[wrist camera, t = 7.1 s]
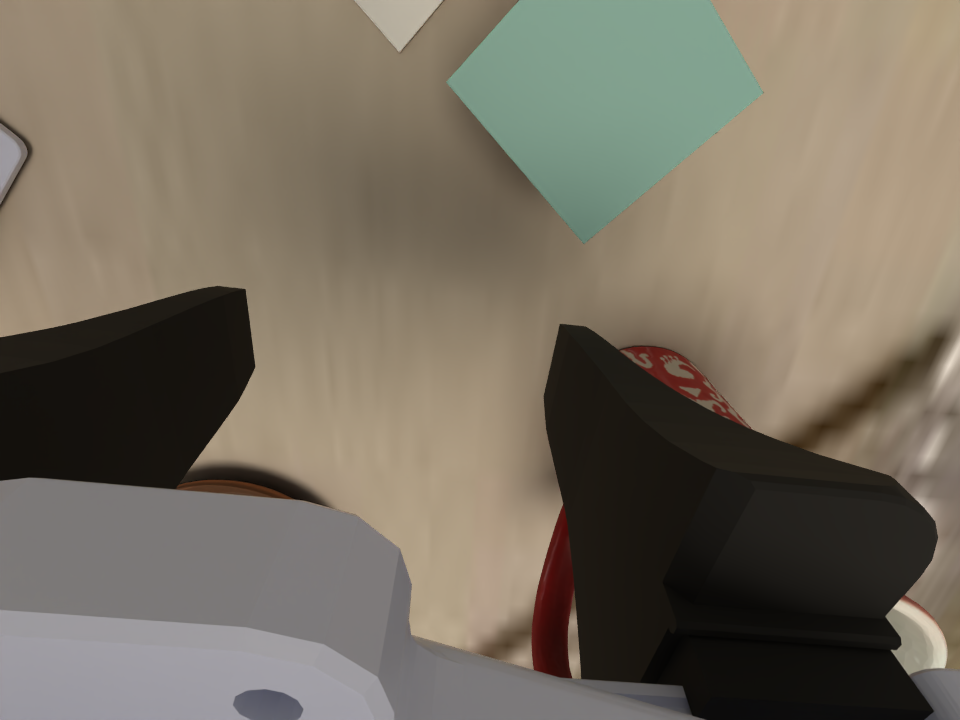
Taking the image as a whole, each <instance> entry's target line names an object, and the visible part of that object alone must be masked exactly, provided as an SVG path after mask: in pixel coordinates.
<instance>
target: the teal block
mask: <svg viewBox="0 0 960 720" xmlns="http://www.w3.org/2000/svg"><path fill="white" fill-rule="evenodd" d="M446 83H447V84H448V85H449V86H450V87H451V88H452V90H453V91H454V92H455V93H456V94H457V96H458V97H459V98H460V99H461V100H462V101H463V103H464V104H465V105H466V106H467V107H468V108H469V110H470V111H471V112H472V113H473V114H474V116H475V117H476V118H477V119H478V120H479V121H480V123H481V124H482V125H483V126H484V127H485V128H486V130H487V131H488V132H489V133H490V134H491V136H492V137H493V138H494V139H495V140H496V141H497V143H498V144H499V145H500V146H501V147H502V148H503V150H504V151H505V152H506V153H507V154H508V155H509V157H510V158H511V159H512V160H513V161H514V163H515V164H516V165H517V166H518V167H519V168H520V170H521V171H522V172H523V173H524V174H525V175H526V177H527V178H528V179H529V180H530V181H531V183H532V184H533V185H534V186H535V187H536V188H537V190H538V191H539V192H540V193H541V194H542V195H543V197H544V198H545V199H546V200H547V201H548V203H549V204H550V205H551V206H552V207H553V208H554V210H555V211H556V212H557V213H558V214H559V215H560V217H561V218H562V219H563V220H564V221H565V222H566V224H567V225H568V226H569V227H570V228H571V230H572V231H573V232H574V233H575V234H576V235H577V237H578V238H579V239H580V240H581V241H582V242H583V244H584V243H586V242H587V241H588V240H589V239H590V238H592V237H593V236H594V235H595V234H596V233H597V232H599V231H600V230H601V229H602V228H603V227H605V226H606V225H607V224H608V223H609V222H611V221H612V220H613V219H614V218H615V217H616V216H618V215H619V214H620V213H621V212H622V211H624V210H625V209H626V208H627V207H628V206H630V205H631V204H632V203H633V202H634V201H636V200H637V199H638V198H639V197H640V196H641V195H643V194H644V193H645V192H646V191H647V190H649V189H650V188H651V187H652V186H653V185H655V184H656V183H657V182H658V181H659V180H660V179H662V178H663V177H664V176H665V175H666V174H668V173H669V172H670V171H671V170H672V169H674V168H675V167H676V166H677V165H678V164H680V163H681V162H682V161H683V160H684V159H685V158H687V157H688V156H689V155H690V154H691V153H693V152H694V151H695V150H696V149H697V148H699V147H700V146H701V145H702V144H703V143H704V142H706V141H707V140H708V139H709V138H710V137H712V136H713V135H714V134H715V133H716V132H718V131H719V130H720V129H721V128H722V127H723V126H725V125H726V124H727V123H728V122H729V121H731V120H732V119H733V118H734V117H735V116H737V115H738V114H739V113H740V112H741V111H743V110H744V109H745V108H746V107H747V106H748V105H750V104H751V103H752V102H753V101H754V100H756V99H757V98H758V97H759V96H760V95H762V94H763V91H762V89H761V88H760V86H759V84H758V82H757V81H756V79H755V77H754V76H753V74H752V72H751V70H750V69H749V67H748V65H747V63H746V62H745V60H744V58H743V56H742V55H741V53H740V51H739V49H738V48H737V46H736V44H735V43H734V41H733V39H732V37H731V36H730V34H729V32H728V30H727V29H726V27H725V25H724V23H723V22H722V20H721V18H720V17H719V15H718V13H717V11H716V10H715V8H714V6H713V4H712V3H711V1H710V0H519V1H518V2H517V3H516V4H515V6H514V7H513V8H512V9H511V10H510V11H509V12H508V13H507V15H506V16H505V17H504V18H503V19H502V20H501V21H500V22H499V23H498V25H497V26H496V27H495V28H494V29H493V30H492V31H491V32H490V34H489V35H488V36H487V37H486V38H485V39H484V40H483V41H482V43H481V44H480V45H479V46H478V47H477V48H476V49H475V50H474V51H473V53H472V54H471V55H470V56H469V57H468V58H467V59H466V60H465V62H464V63H463V64H462V65H461V66H460V67H459V68H458V69H457V71H456V72H455V73H454V74H453V75H452V76H451V77H450V78H449V79H448V81H447V82H446Z"/></svg>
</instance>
